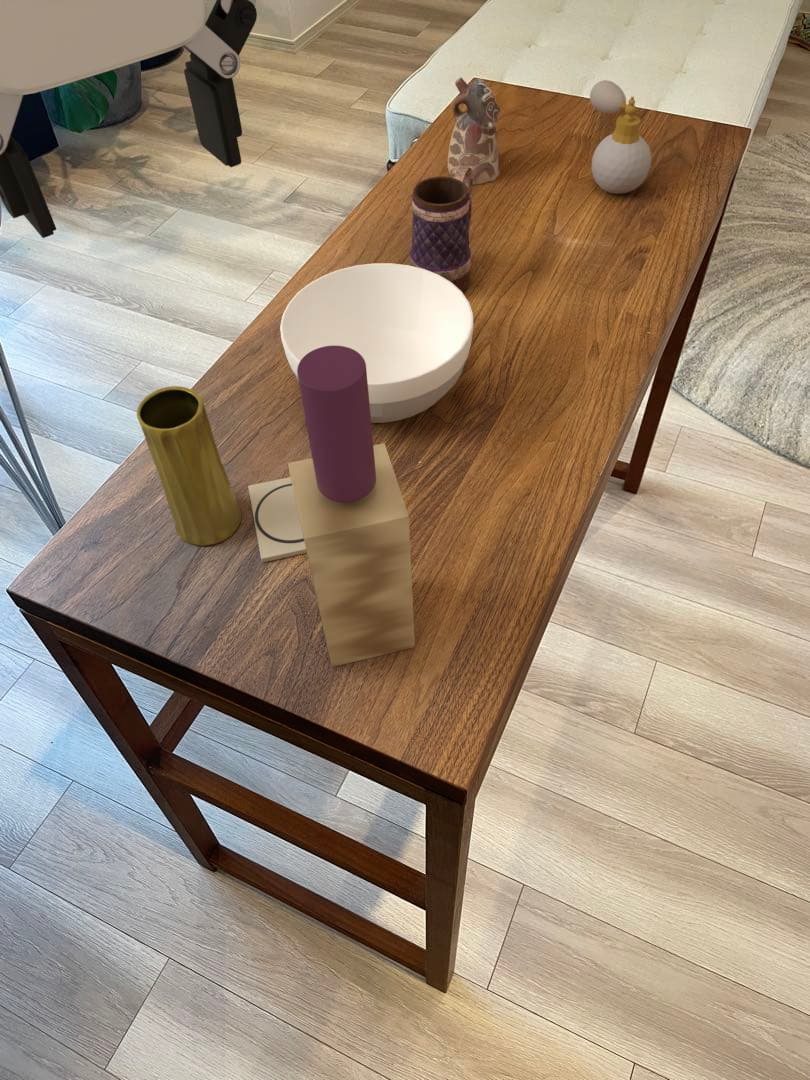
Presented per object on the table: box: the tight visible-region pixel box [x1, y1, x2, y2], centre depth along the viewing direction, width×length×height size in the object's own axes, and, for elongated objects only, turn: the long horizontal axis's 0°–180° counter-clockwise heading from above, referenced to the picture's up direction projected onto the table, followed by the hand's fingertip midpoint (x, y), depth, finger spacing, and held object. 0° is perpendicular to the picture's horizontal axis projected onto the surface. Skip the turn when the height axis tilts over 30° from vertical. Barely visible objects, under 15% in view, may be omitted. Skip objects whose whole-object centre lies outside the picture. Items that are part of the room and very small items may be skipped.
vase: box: [136, 385, 242, 547], centre depth 72 cm, size 6×6×14 cm
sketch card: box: [247, 476, 307, 563], centre depth 77 cm, size 11×9×1 cm
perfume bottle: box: [589, 79, 652, 195], centre depth 106 cm, size 8×10×12 cm
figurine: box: [447, 77, 501, 186], centre depth 109 cm, size 7×7×12 cm
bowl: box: [279, 262, 474, 424], centre depth 84 cm, size 19×19×9 cm
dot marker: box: [297, 346, 376, 503], centre depth 52 cm, size 4×4×11 cm
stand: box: [287, 442, 416, 668], centre depth 63 cm, size 7×7×17 cm
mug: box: [409, 164, 474, 293], centre depth 95 cm, size 10×7×12 cm
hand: (134, 188), depth 40 cm, fingers open, 9 cm apart
